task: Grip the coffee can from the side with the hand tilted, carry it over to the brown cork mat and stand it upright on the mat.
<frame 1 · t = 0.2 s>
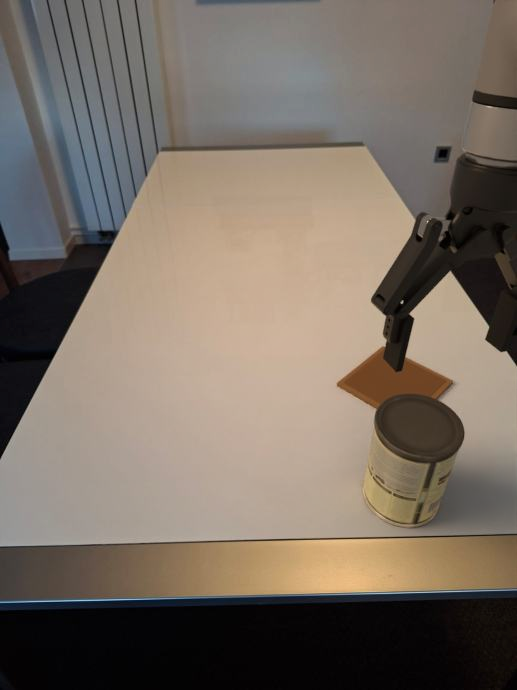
hand: (445, 354, 55), 22 cm above the table, tool pointing down, fingers open, 13 cm apart
coffee can: (399, 495, 67), on the table
cork mat: (394, 384, 84), on the table
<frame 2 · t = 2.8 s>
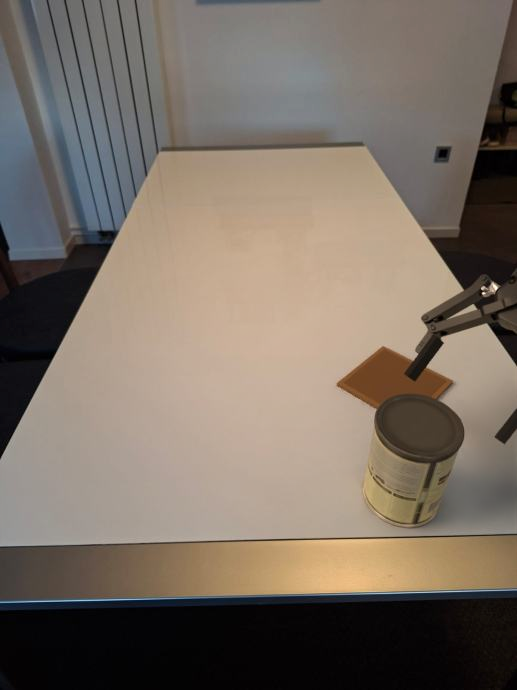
hand: (450, 407, 62), 13 cm above the table, tool tilted 45°, fingers open, 13 cm apart
nothing on the table moved.
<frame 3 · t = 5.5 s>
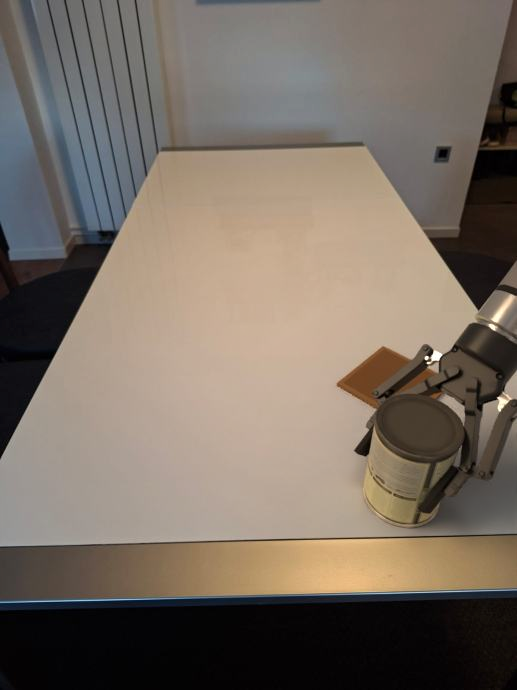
hand: (390, 480, 63), 5 cm above the table, tool tilted 45°, fingers closed on coffee can, 10 cm apart
coffee can: (399, 495, 67), on the table, touching gripper
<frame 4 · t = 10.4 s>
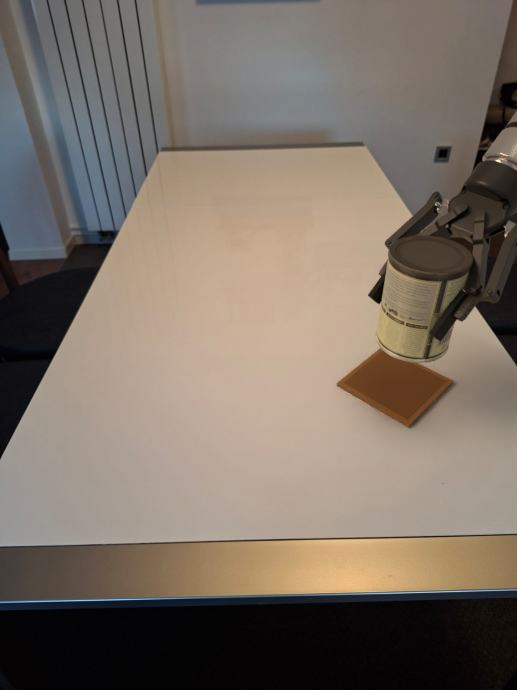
hand: (402, 317, 67), 19 cm above the table, tool tilted 45°, fingers closed on coffee can, 10 cm apart
coffee can: (410, 341, 71), point 14 cm above the table, touching gripper
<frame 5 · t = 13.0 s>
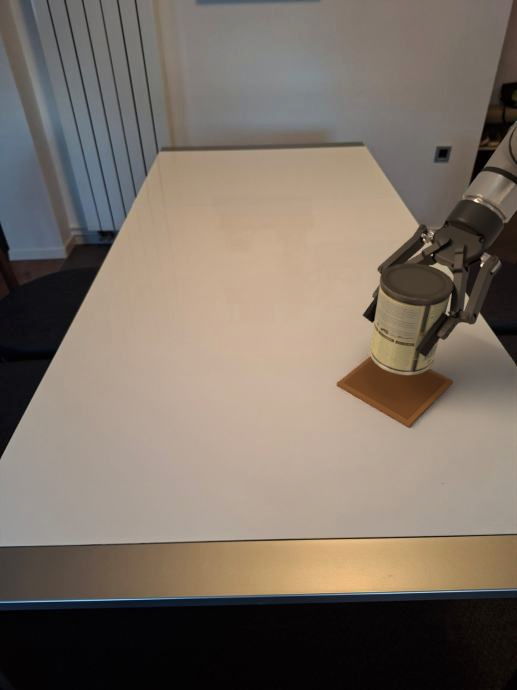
hand: (392, 335, 76), 12 cm above the table, tool tilted 45°, fingers closed on coffee can, 10 cm apart
coffee can: (400, 355, 81), point 6 cm above the table, touching gripper
when the fingers open (6 cm above the table, at t = 15.2 s): coffee can stays where it is, resting on cork mat.
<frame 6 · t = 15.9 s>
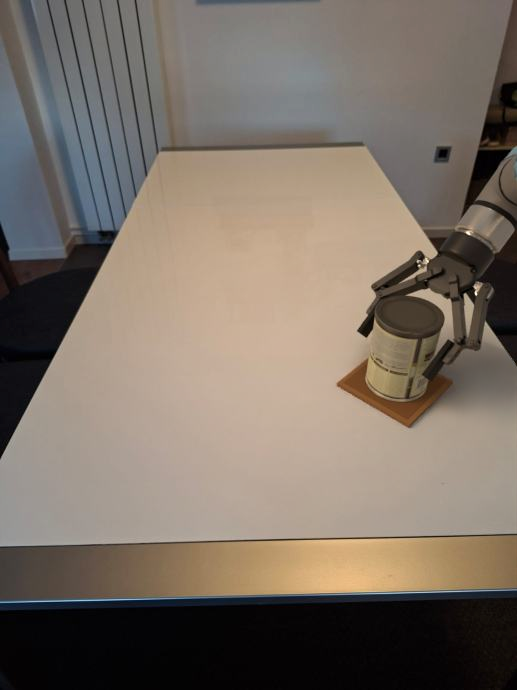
hand: (392, 355, 79), 8 cm above the table, tool tilted 45°, fingers open, 13 cm apart
coffee can: (395, 382, 84), resting on cork mat
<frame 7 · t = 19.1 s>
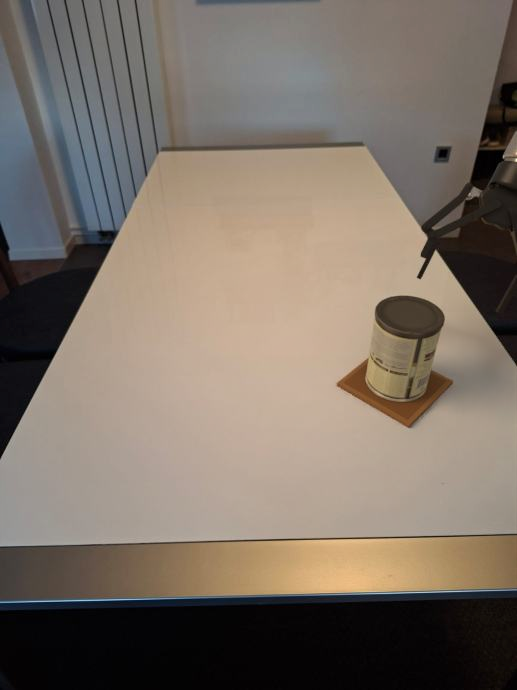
hand: (457, 295, 81), 14 cm above the table, tool tilted 30°, fingers open, 13 cm apart
nothing on the table moved.
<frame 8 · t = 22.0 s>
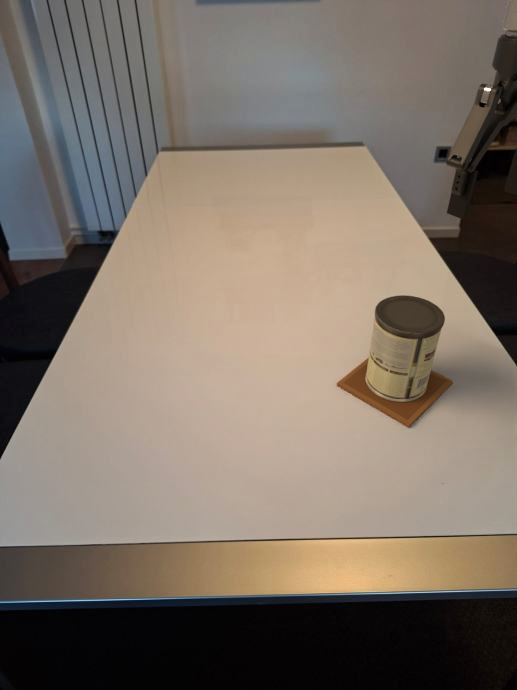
hand: (485, 204, 72), 29 cm above the table, tool pointing down, fingers open, 13 cm apart
nothing on the table moved.
at the end: coffee can inside the target area on the cork mat (0.1 cm from its centre), point 0.5 cm above the cork mat's base; coffee can tilted 0°; the gripper is holding nothing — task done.
